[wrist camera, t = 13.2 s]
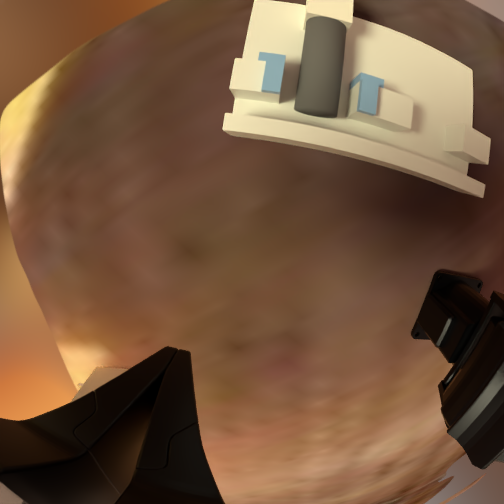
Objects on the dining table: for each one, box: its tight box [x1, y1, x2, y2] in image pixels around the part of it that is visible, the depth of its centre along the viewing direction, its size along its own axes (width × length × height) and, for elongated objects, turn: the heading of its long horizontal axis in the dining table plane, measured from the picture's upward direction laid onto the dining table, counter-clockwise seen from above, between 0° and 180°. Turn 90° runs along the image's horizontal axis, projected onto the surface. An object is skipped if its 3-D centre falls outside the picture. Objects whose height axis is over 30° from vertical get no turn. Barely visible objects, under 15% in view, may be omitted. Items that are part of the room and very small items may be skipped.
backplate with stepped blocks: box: [223, 0, 491, 198], centre depth 14 cm, size 18×11×4 cm, turn 81°
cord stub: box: [294, 0, 353, 118], centre depth 13 cm, size 3×10×3 cm, turn 171°
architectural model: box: [71, 367, 128, 402], centre depth 23 cm, size 3×7×7 cm, turn 100°
